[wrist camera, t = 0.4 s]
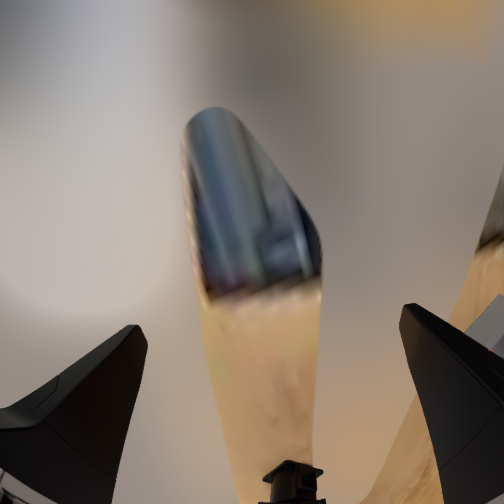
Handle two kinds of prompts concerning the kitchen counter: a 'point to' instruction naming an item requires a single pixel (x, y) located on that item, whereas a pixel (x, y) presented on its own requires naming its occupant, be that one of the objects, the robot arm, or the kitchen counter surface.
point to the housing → (490, 327)
